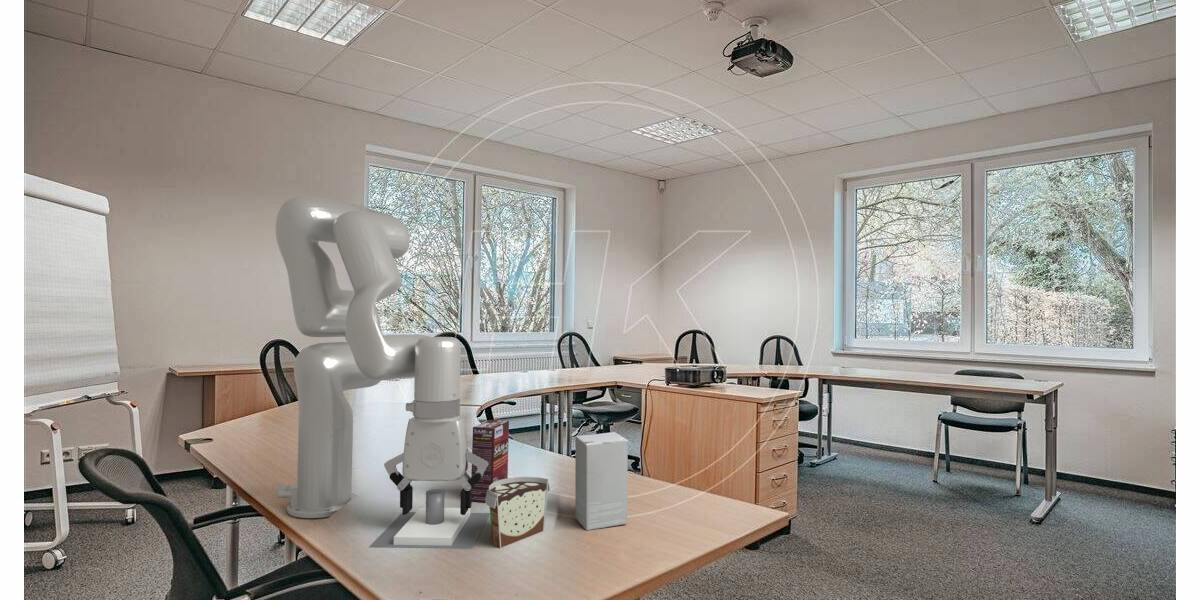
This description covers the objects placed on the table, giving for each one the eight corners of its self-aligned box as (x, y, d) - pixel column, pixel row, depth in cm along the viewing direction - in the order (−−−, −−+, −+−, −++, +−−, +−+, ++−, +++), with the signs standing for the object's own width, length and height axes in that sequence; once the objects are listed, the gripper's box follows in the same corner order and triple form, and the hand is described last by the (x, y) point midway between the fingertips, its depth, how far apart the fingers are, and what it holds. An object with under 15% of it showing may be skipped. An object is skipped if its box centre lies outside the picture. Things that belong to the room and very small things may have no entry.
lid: (393, 544, 92) (394, 504, 92) (420, 514, 106) (421, 479, 106) (451, 545, 92) (451, 505, 92) (470, 514, 106) (471, 480, 106)
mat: (368, 556, 91) (368, 547, 91) (402, 520, 107) (402, 511, 107) (471, 558, 91) (472, 548, 91) (490, 521, 107) (490, 513, 107)
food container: (524, 528, 104) (525, 471, 104) (549, 537, 100) (550, 478, 100) (468, 549, 95) (469, 487, 95) (493, 560, 91) (494, 495, 91)
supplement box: (492, 511, 113) (494, 428, 113) (469, 509, 114) (470, 426, 114) (508, 497, 121) (510, 420, 121) (486, 496, 122) (488, 419, 122)
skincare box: (614, 514, 112) (615, 430, 113) (629, 527, 106) (630, 438, 106) (572, 519, 109) (573, 433, 109) (585, 532, 103) (586, 441, 103)
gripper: (377, 413, 96) (376, 519, 95) (484, 414, 96) (483, 520, 96) (393, 406, 103) (392, 504, 103) (492, 406, 103) (491, 505, 103)
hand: (436, 512), depth 99 cm, fingers open, 9 cm apart
